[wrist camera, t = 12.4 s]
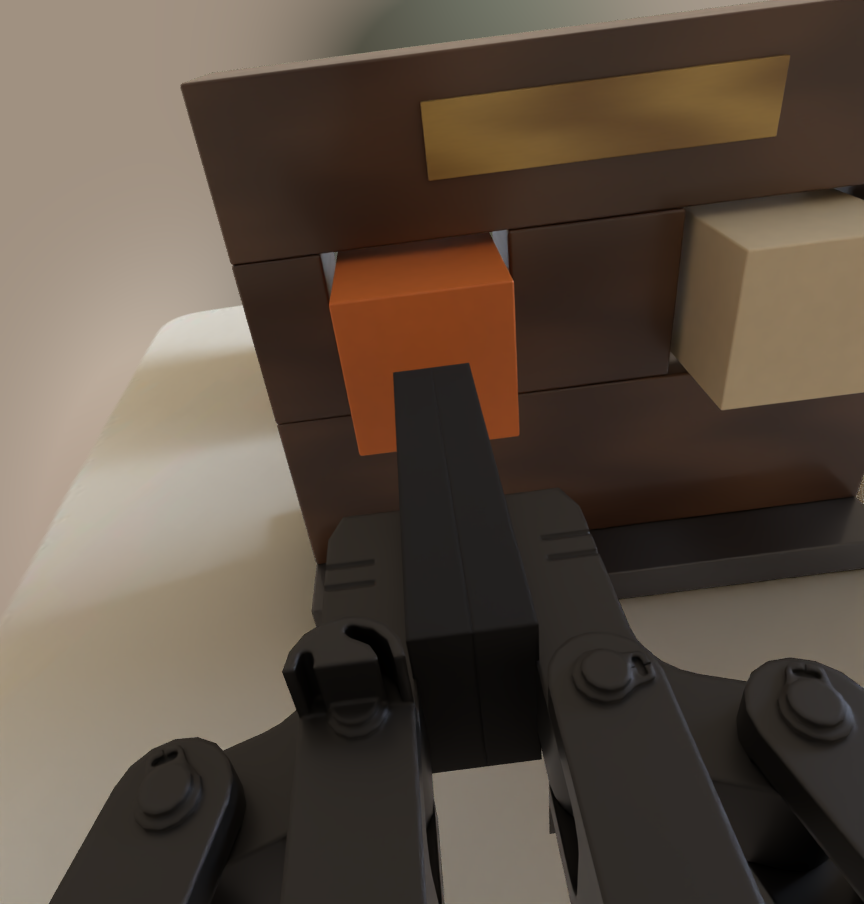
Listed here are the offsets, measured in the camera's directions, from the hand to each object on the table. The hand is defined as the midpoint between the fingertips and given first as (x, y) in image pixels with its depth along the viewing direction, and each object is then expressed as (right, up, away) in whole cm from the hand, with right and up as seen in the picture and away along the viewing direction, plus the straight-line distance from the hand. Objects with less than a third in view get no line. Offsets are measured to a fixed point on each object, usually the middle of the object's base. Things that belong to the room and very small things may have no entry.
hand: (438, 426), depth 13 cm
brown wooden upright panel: (+5, -3, +10) cm, 12 cm away
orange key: (0, +1, +4) cm, 5 cm away
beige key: (+9, +2, +4) cm, 10 cm away
